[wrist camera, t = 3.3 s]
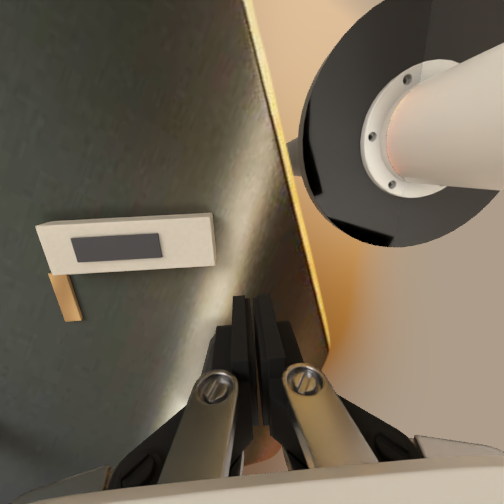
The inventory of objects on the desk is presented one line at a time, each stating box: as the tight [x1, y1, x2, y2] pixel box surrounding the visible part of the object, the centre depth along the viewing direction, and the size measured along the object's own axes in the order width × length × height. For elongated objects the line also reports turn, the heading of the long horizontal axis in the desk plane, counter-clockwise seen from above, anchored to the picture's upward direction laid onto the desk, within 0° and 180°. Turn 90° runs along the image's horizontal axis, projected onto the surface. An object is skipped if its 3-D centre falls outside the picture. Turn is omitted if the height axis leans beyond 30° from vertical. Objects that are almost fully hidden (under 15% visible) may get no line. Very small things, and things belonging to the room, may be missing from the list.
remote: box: [35, 213, 217, 275], centre depth 24 cm, size 16×5×2 cm, turn 92°
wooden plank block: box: [48, 272, 83, 321], centre depth 27 cm, size 2×6×1 cm, turn 2°
